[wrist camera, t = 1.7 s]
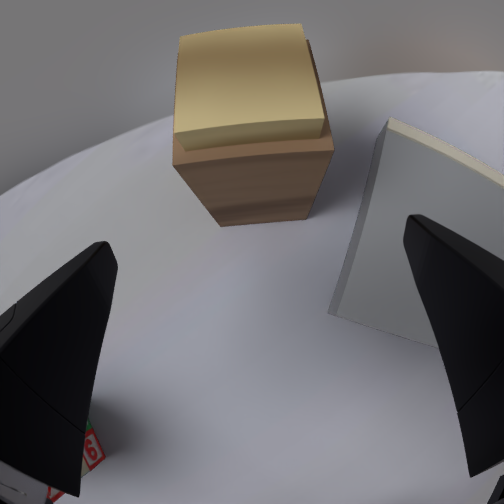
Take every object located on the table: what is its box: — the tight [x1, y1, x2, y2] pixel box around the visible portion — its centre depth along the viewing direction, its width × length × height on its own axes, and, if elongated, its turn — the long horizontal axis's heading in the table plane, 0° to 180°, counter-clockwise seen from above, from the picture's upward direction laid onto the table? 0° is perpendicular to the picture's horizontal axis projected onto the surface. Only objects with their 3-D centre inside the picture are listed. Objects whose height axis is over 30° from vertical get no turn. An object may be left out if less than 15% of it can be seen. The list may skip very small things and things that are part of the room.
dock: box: [328, 117, 504, 348], centre depth 19 cm, size 14×12×3 cm
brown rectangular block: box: [172, 24, 334, 227], centre depth 16 cm, size 6×6×12 cm
